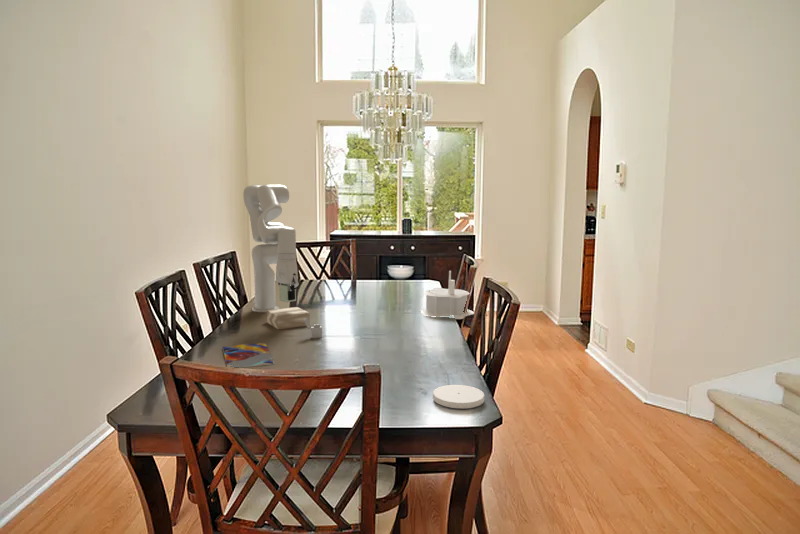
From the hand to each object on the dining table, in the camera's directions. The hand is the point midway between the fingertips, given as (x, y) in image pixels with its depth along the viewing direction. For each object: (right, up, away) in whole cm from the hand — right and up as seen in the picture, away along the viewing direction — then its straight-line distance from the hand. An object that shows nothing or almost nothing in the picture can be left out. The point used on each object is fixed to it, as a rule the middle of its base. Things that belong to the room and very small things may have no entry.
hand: (287, 298), depth 237 cm
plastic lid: (+64, -24, -84) cm, 109 cm away
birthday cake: (+70, -9, +27) cm, 76 cm away
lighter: (+14, -14, -20) cm, 28 cm away
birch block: (0, -12, +2) cm, 12 cm away
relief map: (-5, -18, -45) cm, 49 cm away
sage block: (0, -1, 0) cm, 1 cm away
